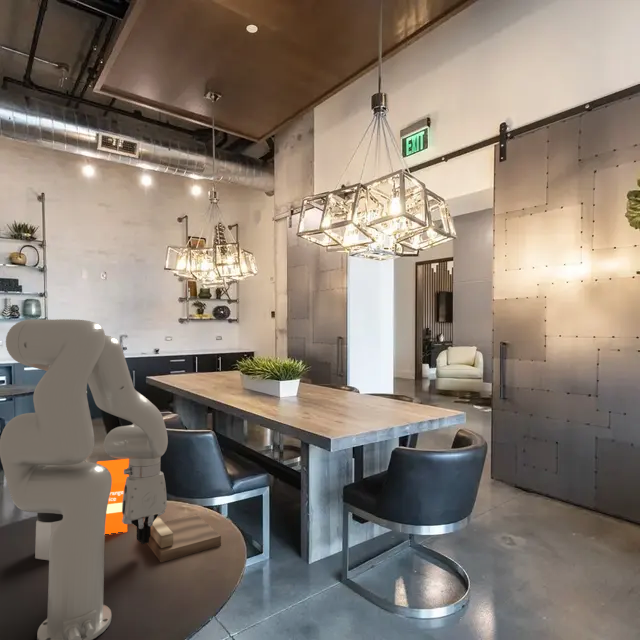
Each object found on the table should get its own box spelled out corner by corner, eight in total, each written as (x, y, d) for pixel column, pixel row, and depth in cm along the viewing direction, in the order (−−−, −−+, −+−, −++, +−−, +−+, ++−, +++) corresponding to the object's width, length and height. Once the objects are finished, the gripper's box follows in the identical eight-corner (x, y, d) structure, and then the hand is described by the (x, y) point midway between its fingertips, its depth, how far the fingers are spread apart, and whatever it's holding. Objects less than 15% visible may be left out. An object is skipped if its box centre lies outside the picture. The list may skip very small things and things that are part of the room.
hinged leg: (144, 526, 126) (145, 516, 126) (155, 524, 128) (155, 513, 128) (161, 548, 113) (161, 536, 113) (173, 544, 115) (173, 533, 115)
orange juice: (95, 526, 133) (97, 458, 133) (127, 521, 136) (129, 455, 137) (93, 537, 125) (95, 465, 126) (127, 532, 129) (129, 462, 130)
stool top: (220, 545, 121) (220, 535, 121) (160, 562, 112) (161, 552, 112) (196, 522, 136) (196, 514, 136) (141, 536, 126) (142, 527, 126)
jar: (42, 547, 119) (43, 501, 120) (75, 543, 122) (77, 498, 122) (31, 563, 111) (32, 514, 111) (67, 558, 113) (69, 510, 114)
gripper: (120, 479, 107) (118, 557, 107) (178, 467, 118) (177, 537, 117) (109, 472, 113) (107, 546, 112) (166, 461, 123) (164, 528, 122)
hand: (143, 541), depth 115 cm, fingers closed
